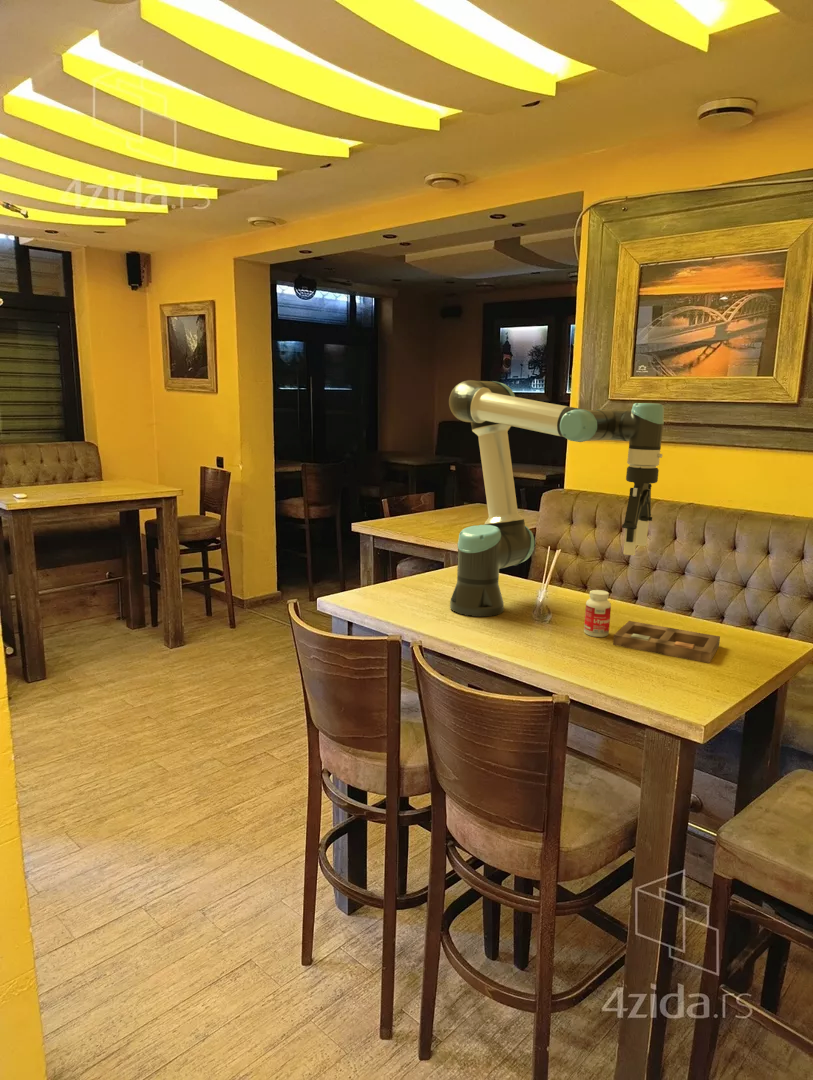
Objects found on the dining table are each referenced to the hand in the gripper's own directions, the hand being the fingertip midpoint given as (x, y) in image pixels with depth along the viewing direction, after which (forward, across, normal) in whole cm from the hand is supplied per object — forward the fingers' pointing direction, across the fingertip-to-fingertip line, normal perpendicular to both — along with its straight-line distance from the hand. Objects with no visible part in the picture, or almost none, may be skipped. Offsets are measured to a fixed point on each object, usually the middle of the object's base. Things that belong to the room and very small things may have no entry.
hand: (635, 550), depth 178 cm
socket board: (+21, -7, -11) cm, 25 cm away
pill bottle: (+22, -7, +6) cm, 24 cm away
